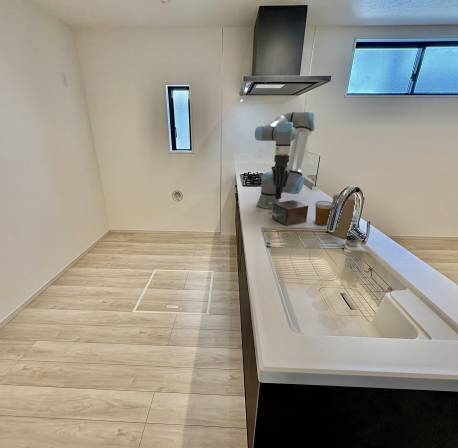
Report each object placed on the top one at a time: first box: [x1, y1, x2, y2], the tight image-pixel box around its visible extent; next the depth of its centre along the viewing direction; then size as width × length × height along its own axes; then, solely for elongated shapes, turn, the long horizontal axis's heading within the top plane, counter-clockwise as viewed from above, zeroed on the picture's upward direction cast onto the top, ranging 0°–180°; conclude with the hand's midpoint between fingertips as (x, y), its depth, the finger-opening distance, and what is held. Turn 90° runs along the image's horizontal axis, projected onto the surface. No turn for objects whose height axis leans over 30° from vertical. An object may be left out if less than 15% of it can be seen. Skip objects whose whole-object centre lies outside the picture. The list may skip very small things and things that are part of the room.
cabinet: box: [274, 199, 309, 226], centre depth 139 cm, size 15×13×10 cm
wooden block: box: [326, 193, 366, 239], centre depth 119 cm, size 10×10×20 cm
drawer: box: [267, 205, 287, 225], centre depth 138 cm, size 18×11×8 cm, turn 116°
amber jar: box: [314, 200, 332, 226], centre depth 134 cm, size 10×10×12 cm
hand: (278, 198), depth 132 cm, fingers closed
